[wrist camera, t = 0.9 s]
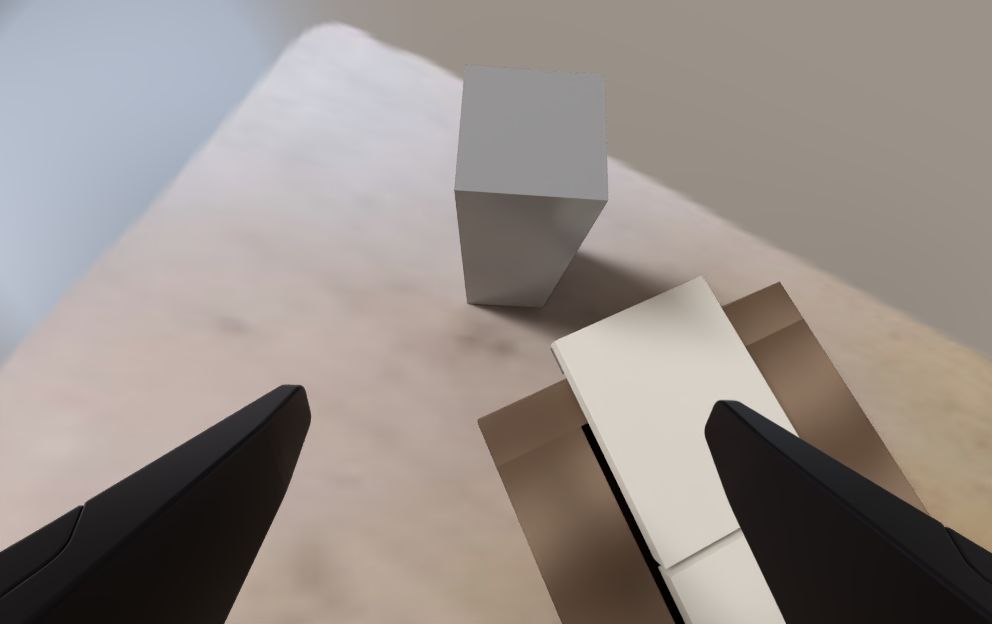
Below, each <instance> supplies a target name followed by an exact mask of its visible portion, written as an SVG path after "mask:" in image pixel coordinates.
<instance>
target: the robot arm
mask: <svg viewBox="0 0 992 624" xmlns="http://www.w3.org/2000/svg"><path fill="white" fill-rule="evenodd" d="M310 422H311V412H310V407H309V403H308V399H307V395H306V391H305V388H304V387H303V386H301V385H281V386H279V387H277V388H276V389H274V390H272V391H271V392H269V393H267V394H266V395H264V396H262V397H261V398H259V399H257V400H256V401H254V402H252V403H251V404H249V405H247V406H246V407H244V408H242V409H241V410H239V411H237V412H236V413H234V414H232V415H230V416H229V417H227V418H225V419H224V420H222V421H220V422H219V423H217V424H215V425H214V426H212V427H210V428H209V429H207V430H205V431H204V432H202V433H200V434H199V435H197V436H195V437H194V438H192V439H190V440H189V441H187V442H185V443H184V444H182V445H180V446H179V447H177V448H175V449H174V450H172V451H170V452H169V453H167V454H165V455H163V456H162V457H160V458H158V459H157V460H155V461H153V462H152V463H150V464H148V465H147V466H145V467H143V468H142V469H140V470H138V471H137V472H135V473H133V474H132V475H130V476H128V477H127V478H125V479H123V480H122V481H120V482H118V483H117V484H115V485H113V486H111V487H110V488H108V489H106V490H105V491H103V492H101V493H100V494H98V495H96V496H95V497H93V498H91V499H90V500H88V501H87V502H85V504H84V506H78V507H76V508H74V509H73V510H71V511H69V512H68V513H66V514H64V515H63V516H61V517H59V518H58V519H56V520H54V521H53V522H51V523H49V524H48V525H46V526H44V527H42V528H41V529H39V530H37V531H36V532H34V533H32V534H30V535H29V536H27V537H25V538H23V539H22V540H20V541H18V542H17V543H15V544H13V545H11V546H10V547H8V548H6V549H5V550H3V551H1V552H0V624H224V623H225V621H226V619H227V617H228V615H229V613H230V610H231V608H232V606H233V604H234V602H235V600H236V598H237V596H238V594H239V591H240V589H241V587H242V585H243V583H244V581H245V579H246V577H247V575H248V572H249V570H250V568H251V566H252V564H253V562H254V560H255V558H256V556H257V553H258V551H259V549H260V547H261V545H262V543H263V541H264V539H265V537H266V534H267V532H268V530H269V528H270V526H271V524H272V522H273V520H274V517H275V515H276V513H277V511H278V509H279V507H280V505H281V503H282V500H283V498H284V496H285V494H286V491H287V489H288V486H289V483H290V481H291V478H292V475H293V472H294V469H295V466H296V464H297V461H298V458H299V455H300V452H301V449H302V446H303V443H304V441H305V438H306V435H307V432H308V429H309V426H310ZM704 434H705V439H706V442H707V444H708V447H709V450H710V453H711V456H712V458H713V461H714V464H715V467H716V469H717V472H718V475H719V478H720V481H721V483H722V486H723V489H724V492H725V494H726V497H727V499H728V502H729V504H730V507H731V509H732V511H733V513H734V515H735V518H736V520H737V522H738V524H739V526H740V528H741V530H742V532H743V534H744V537H745V539H746V541H747V543H748V545H749V547H750V549H751V551H752V553H753V555H754V558H755V560H756V562H757V564H758V566H759V568H760V570H761V572H762V574H763V577H764V579H765V581H766V583H767V585H768V587H769V589H770V591H771V593H772V595H773V598H774V600H775V602H776V604H777V606H778V608H779V610H780V612H781V614H782V617H783V619H784V621H785V623H786V624H992V553H991V552H989V551H987V550H986V549H984V548H982V547H980V546H979V545H977V544H975V543H974V542H972V541H970V540H969V539H967V538H965V537H964V536H962V535H961V534H959V533H957V532H956V531H954V530H952V529H951V528H948V527H944V525H943V524H942V523H940V522H939V521H937V520H935V519H934V518H932V517H930V516H929V515H927V514H925V513H924V512H922V511H920V510H919V509H917V508H915V507H914V506H912V505H911V504H909V503H907V502H906V501H904V500H902V499H901V498H899V497H897V496H896V495H894V494H892V493H891V492H889V491H887V490H886V489H884V488H882V487H881V486H879V485H877V484H876V483H874V482H872V481H871V480H869V479H867V478H866V477H864V476H862V475H861V474H859V473H857V472H856V471H854V470H852V469H851V468H849V467H847V466H846V465H844V464H842V463H841V462H839V461H837V460H836V459H834V458H832V457H831V456H829V455H827V454H826V453H824V452H822V451H821V450H819V449H817V448H816V447H814V446H812V445H811V444H809V443H807V442H806V441H804V440H802V439H801V438H799V437H797V436H796V435H794V434H792V433H791V432H789V431H787V430H786V429H784V428H783V427H781V426H779V425H778V424H776V423H774V422H773V421H771V420H769V419H768V418H766V417H764V416H763V415H761V414H759V413H758V412H756V411H754V410H753V409H751V408H749V407H748V406H746V405H744V404H743V403H741V402H739V401H736V400H718V401H717V402H716V403H715V404H714V406H713V408H712V411H711V413H710V415H709V418H708V420H707V422H706V425H705V429H704Z"/></svg>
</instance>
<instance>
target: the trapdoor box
mask: <svg viewBox="0 0 992 624" xmlns="http://www.w3.org/2000/svg"><path fill="white" fill-rule="evenodd" d="M721 308H722V309H723V311H724V313H725V314H726V316H727V318H728V319H729V321H730V323H731V324H732V326H733V328H734V329H735V331H736V333H737V334H738V336H739V338H740V339H741V341H742V343H743V344H744V346H745V348H746V349H747V351H748V353H749V354H750V356H751V358H752V359H753V361H754V363H755V364H756V366H757V368H758V369H759V371H760V373H761V374H762V376H763V378H764V379H765V381H766V383H767V384H768V386H769V388H770V389H771V391H772V393H773V394H774V396H775V398H776V399H777V401H778V403H779V404H780V406H781V408H782V409H783V411H784V413H785V414H786V416H787V418H788V419H789V421H790V423H791V424H792V426H793V428H794V429H795V431H796V433H797V434H798V436H799V438H801V439H802V440H804V441H806V442H807V443H809V444H811V445H812V446H814V447H816V448H817V449H819V450H821V451H822V452H824V453H826V454H827V455H829V456H831V457H832V458H834V459H836V460H837V461H839V462H841V463H842V464H844V465H846V466H847V467H849V468H851V469H852V470H854V471H856V472H857V473H859V474H861V475H862V476H864V477H866V478H867V479H869V480H871V481H872V482H874V483H876V484H877V485H879V486H881V487H882V488H884V489H886V490H887V491H889V492H891V493H892V494H894V495H896V496H897V497H899V498H901V499H902V500H904V501H906V502H907V503H909V504H911V505H912V506H914V507H915V508H917V509H919V510H920V511H922V512H924V513H925V514H927V515H929V513H928V511H927V510H926V508H925V507H924V505H923V504H922V502H921V501H920V499H919V497H918V496H917V494H916V493H915V491H914V490H913V488H912V487H911V485H910V483H909V482H908V480H907V479H906V477H905V476H904V474H903V473H902V471H901V469H900V468H899V466H898V465H897V463H896V462H895V460H894V459H893V457H892V455H891V454H890V452H889V451H888V449H887V448H886V446H885V445H884V443H883V441H882V440H881V438H880V437H879V435H878V434H877V432H876V431H875V429H874V427H873V426H872V424H871V423H870V421H869V420H868V418H867V417H866V415H865V413H864V412H863V410H862V409H861V407H860V406H859V404H858V403H857V401H856V399H855V398H854V396H853V395H852V393H851V392H850V390H849V389H848V387H847V385H846V384H845V382H844V381H843V379H842V378H841V376H840V375H839V373H838V371H837V370H836V368H835V367H834V365H833V364H832V362H831V361H830V359H829V358H828V356H827V354H826V353H825V351H824V350H823V348H822V347H821V345H820V344H819V342H818V340H817V339H816V337H815V336H814V334H813V333H812V331H811V330H810V328H809V326H808V325H807V323H806V322H805V320H804V319H803V317H802V316H801V314H800V312H799V311H798V309H797V308H796V306H795V305H794V303H793V302H792V300H791V298H790V297H789V295H788V294H787V292H786V291H785V289H784V288H783V286H782V284H781V283H780V282H778V283H776V284H773V285H771V286H769V287H766V288H764V289H762V290H759V291H757V292H755V293H752V294H750V295H748V296H745V297H743V298H741V299H738V300H736V301H734V302H731V303H729V304H727V305H724V306H722V307H721ZM477 422H478V425H479V427H480V429H481V432H482V434H483V437H484V439H485V441H486V444H487V446H488V448H489V451H490V453H491V456H492V458H493V460H494V463H495V465H496V468H497V470H498V472H499V475H500V477H501V479H502V482H503V484H504V487H505V489H506V491H507V494H508V496H509V498H510V501H511V503H512V506H513V508H514V510H515V513H516V515H517V517H518V520H519V522H520V525H521V527H522V529H523V532H524V534H525V537H526V539H527V541H528V544H529V546H530V548H531V551H532V553H533V556H534V558H535V560H536V563H537V565H538V567H539V570H540V572H541V575H542V577H543V579H544V582H545V584H546V587H547V589H548V591H549V594H550V596H551V598H552V601H553V603H554V606H555V608H556V610H557V613H558V615H559V617H560V620H561V622H562V624H675V623H674V621H673V619H672V616H671V614H670V612H669V610H668V608H667V606H666V604H665V602H664V600H663V598H662V595H661V593H660V591H659V589H658V587H657V585H656V583H655V581H654V579H653V577H652V575H651V572H650V570H649V568H648V566H647V564H646V562H645V560H644V558H643V556H642V554H641V552H640V549H639V547H638V545H637V543H636V541H635V539H634V537H633V535H632V533H631V531H630V528H629V526H628V524H627V522H626V520H625V518H624V516H623V514H622V512H621V510H620V508H619V505H618V503H617V501H616V499H615V497H614V495H613V493H612V491H611V489H610V487H609V485H608V482H607V480H606V478H605V476H604V474H603V472H602V470H601V468H600V466H599V464H598V462H597V459H596V457H595V455H594V453H593V451H592V449H591V447H590V445H589V443H588V441H587V438H586V436H585V434H584V432H583V430H582V428H581V426H582V425H584V424H586V423H588V421H587V419H586V417H585V415H584V413H583V411H582V409H581V407H580V405H579V403H578V400H577V398H576V396H575V394H574V392H573V390H572V388H571V386H570V384H569V382H568V380H567V378H566V379H564V380H562V381H560V382H558V383H556V384H553V385H551V386H549V387H547V388H545V389H543V390H540V391H538V392H536V393H534V394H532V395H530V396H527V397H525V398H523V399H521V400H519V401H517V402H515V403H512V404H510V405H508V406H506V407H504V408H502V409H499V410H497V411H495V412H493V413H491V414H489V415H486V416H484V417H482V418H480V419H478V421H477ZM929 516H930V515H929ZM930 517H931V516H930Z"/></svg>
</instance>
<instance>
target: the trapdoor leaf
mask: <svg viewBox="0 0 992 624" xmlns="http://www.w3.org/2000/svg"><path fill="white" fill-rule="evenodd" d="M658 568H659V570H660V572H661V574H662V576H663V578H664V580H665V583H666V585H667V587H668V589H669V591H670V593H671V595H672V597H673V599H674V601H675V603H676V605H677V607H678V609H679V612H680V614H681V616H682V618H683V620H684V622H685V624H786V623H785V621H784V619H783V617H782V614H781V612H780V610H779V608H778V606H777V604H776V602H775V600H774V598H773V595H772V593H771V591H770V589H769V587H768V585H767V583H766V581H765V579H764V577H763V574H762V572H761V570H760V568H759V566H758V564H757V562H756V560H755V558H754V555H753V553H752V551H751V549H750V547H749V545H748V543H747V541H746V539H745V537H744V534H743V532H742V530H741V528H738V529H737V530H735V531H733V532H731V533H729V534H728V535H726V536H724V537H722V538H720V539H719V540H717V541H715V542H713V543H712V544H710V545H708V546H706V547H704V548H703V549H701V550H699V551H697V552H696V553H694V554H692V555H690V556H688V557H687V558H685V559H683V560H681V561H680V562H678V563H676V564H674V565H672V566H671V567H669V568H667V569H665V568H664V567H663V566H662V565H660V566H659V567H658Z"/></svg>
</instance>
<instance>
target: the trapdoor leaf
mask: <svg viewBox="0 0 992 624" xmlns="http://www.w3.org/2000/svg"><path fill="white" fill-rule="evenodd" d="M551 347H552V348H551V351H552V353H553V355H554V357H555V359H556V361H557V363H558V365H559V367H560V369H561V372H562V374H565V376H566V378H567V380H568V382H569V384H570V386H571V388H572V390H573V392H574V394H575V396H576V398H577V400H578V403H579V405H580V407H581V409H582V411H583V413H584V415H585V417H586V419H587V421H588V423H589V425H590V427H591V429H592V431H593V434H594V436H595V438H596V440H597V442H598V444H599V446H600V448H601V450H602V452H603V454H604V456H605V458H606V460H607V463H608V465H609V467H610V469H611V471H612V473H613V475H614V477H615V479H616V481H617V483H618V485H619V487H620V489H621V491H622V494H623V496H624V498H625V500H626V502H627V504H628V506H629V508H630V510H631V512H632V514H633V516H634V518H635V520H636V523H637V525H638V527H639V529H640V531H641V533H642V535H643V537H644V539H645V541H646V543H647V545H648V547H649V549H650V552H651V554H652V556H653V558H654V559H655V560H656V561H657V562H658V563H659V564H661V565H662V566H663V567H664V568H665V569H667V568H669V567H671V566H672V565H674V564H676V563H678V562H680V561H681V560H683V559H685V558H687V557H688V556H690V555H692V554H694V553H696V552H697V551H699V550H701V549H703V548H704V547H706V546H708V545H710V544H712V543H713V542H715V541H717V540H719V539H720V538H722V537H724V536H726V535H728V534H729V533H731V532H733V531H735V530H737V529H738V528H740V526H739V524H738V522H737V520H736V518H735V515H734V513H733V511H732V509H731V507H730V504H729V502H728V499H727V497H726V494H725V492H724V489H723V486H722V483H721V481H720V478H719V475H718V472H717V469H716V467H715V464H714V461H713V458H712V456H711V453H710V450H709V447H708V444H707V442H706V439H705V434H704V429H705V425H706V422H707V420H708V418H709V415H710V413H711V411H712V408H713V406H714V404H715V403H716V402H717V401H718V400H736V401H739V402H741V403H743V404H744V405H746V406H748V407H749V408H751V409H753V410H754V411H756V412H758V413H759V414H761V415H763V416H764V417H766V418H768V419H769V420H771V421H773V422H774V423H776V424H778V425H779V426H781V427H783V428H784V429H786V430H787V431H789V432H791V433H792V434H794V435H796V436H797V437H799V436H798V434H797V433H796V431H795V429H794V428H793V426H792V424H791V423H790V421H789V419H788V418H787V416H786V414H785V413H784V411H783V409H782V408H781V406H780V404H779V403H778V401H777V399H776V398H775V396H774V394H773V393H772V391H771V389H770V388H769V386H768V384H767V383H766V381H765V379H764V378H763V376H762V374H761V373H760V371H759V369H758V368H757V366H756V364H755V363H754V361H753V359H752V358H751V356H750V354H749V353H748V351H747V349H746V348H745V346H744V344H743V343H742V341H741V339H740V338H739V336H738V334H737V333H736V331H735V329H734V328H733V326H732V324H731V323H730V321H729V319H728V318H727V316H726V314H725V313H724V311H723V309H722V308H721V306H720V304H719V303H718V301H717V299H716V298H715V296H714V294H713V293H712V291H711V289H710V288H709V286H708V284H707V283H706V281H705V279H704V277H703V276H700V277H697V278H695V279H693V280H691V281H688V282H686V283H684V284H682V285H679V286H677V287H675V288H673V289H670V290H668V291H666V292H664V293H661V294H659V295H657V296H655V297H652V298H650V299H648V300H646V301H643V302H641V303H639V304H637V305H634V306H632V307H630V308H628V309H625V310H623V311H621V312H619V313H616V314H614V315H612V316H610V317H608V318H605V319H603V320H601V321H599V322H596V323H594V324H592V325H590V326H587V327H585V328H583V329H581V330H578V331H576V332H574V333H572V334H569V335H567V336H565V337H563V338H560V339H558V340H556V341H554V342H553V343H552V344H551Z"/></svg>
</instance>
